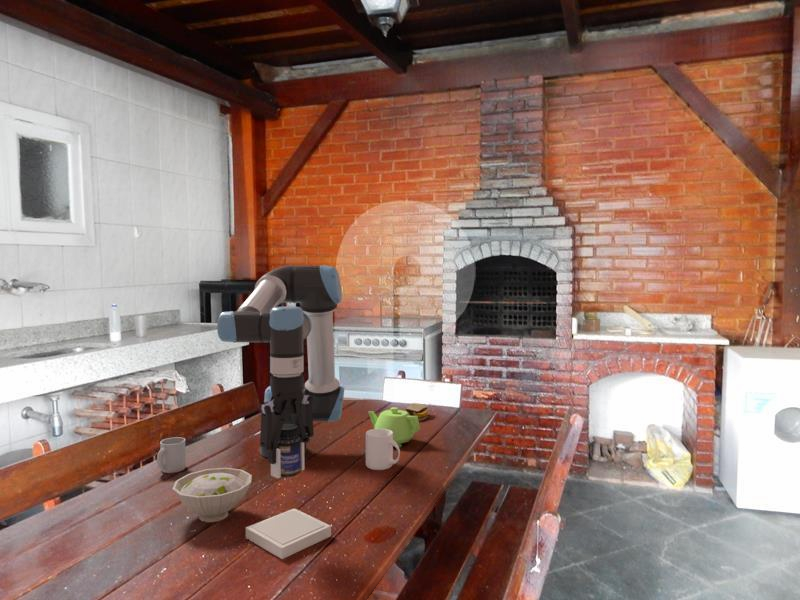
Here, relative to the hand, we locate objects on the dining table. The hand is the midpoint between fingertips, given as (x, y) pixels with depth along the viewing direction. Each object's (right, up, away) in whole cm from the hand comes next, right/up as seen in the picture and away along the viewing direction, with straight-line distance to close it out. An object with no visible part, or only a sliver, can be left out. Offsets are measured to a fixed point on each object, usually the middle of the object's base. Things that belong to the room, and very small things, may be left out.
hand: (287, 472), depth 131 cm
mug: (+21, -13, +47) cm, 53 cm away
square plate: (0, -16, +1) cm, 16 cm away
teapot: (+24, -11, +71) cm, 76 cm away
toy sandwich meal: (+31, -9, +103) cm, 109 cm away
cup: (-45, -13, +43) cm, 63 cm away
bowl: (-21, -15, +12) cm, 29 cm away
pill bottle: (0, 0, 0) cm, 0 cm away
